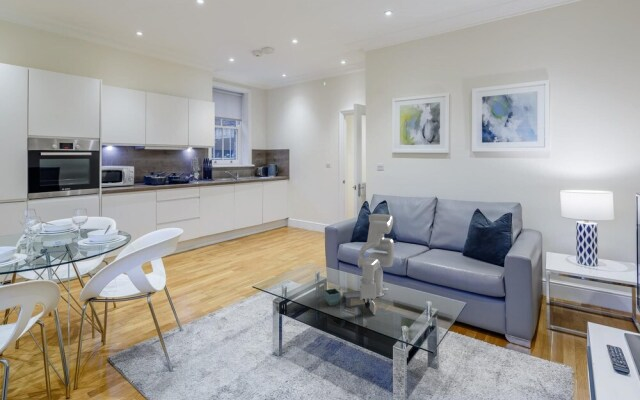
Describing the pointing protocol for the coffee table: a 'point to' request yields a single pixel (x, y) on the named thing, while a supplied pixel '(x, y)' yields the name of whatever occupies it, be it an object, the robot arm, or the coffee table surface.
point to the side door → (373, 307)
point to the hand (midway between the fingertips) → (367, 307)
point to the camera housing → (352, 299)
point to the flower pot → (332, 296)
